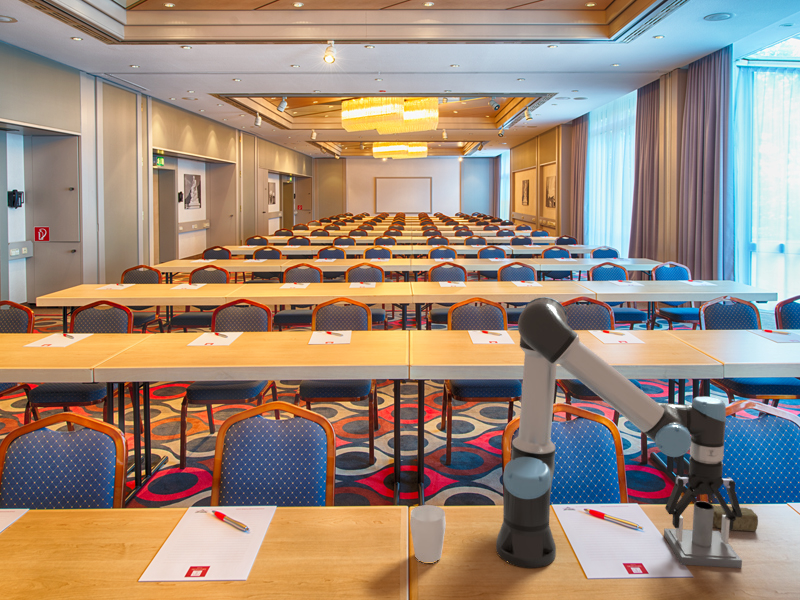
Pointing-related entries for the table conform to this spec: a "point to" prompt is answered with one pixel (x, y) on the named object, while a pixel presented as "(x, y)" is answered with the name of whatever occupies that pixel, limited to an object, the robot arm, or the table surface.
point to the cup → (428, 532)
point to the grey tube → (702, 524)
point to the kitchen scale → (702, 550)
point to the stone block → (737, 519)
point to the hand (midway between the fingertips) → (701, 540)
